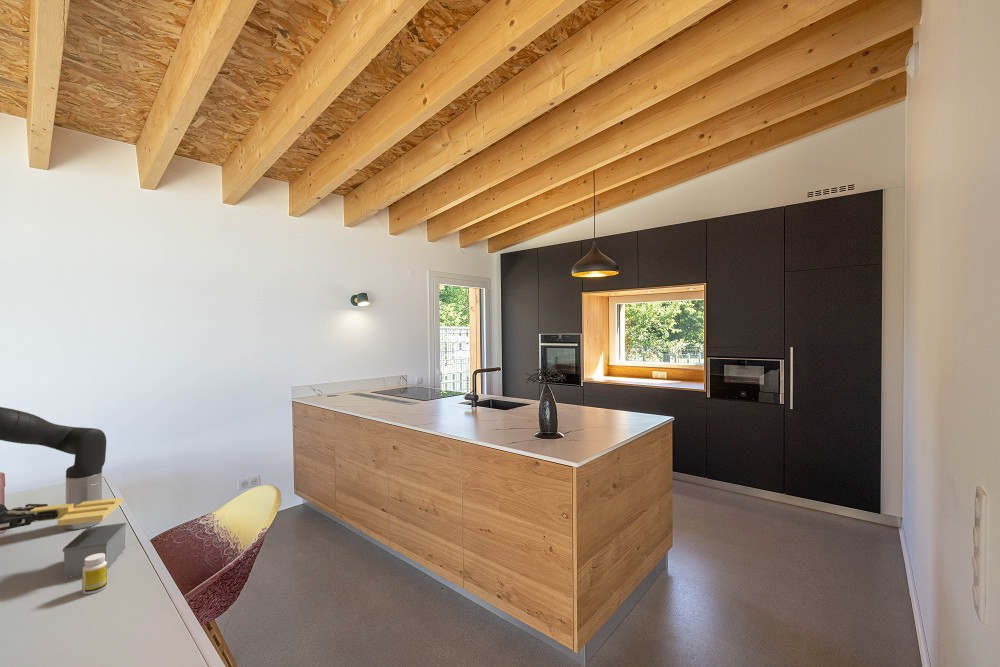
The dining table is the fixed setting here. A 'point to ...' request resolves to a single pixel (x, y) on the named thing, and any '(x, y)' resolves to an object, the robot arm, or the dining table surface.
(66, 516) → the lid
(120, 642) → the dining table surface
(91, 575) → the supplement bottle
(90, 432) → the robot arm
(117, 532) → the grey box
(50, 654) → the dining table surface
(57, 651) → the dining table surface
